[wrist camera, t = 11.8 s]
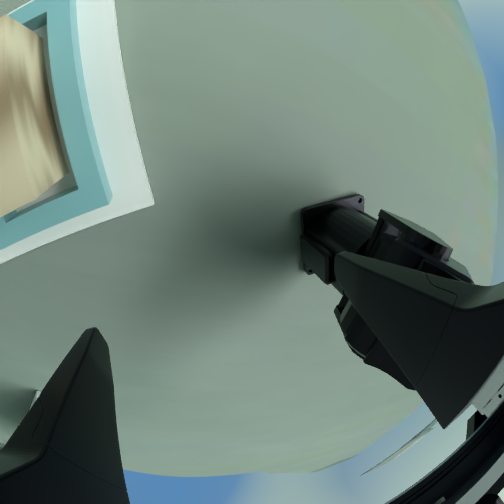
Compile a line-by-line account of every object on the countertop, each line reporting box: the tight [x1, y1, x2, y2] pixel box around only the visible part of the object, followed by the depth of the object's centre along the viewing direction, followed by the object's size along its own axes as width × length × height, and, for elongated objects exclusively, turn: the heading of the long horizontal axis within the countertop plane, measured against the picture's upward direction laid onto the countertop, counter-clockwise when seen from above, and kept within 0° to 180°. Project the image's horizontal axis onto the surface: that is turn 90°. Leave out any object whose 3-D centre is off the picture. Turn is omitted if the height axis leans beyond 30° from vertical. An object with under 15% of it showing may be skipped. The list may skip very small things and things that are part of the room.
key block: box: [0, 14, 69, 218], centre depth 9 cm, size 10×4×6 cm, turn 9°
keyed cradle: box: [0, 0, 154, 264], centre depth 11 cm, size 14×18×3 cm
